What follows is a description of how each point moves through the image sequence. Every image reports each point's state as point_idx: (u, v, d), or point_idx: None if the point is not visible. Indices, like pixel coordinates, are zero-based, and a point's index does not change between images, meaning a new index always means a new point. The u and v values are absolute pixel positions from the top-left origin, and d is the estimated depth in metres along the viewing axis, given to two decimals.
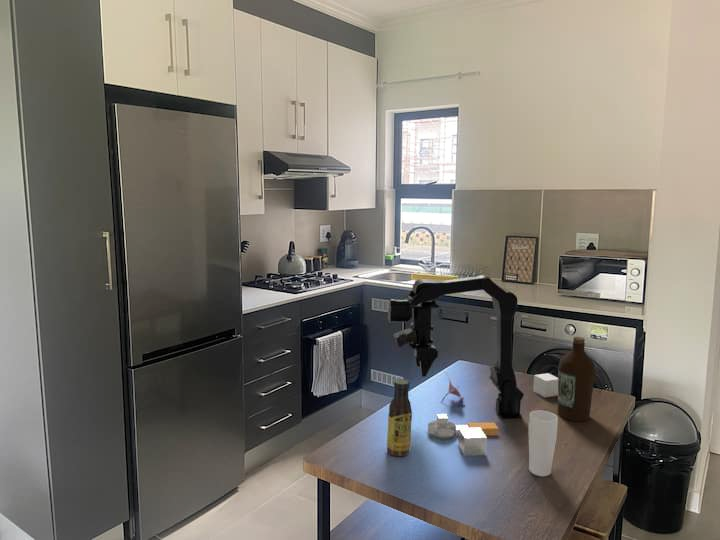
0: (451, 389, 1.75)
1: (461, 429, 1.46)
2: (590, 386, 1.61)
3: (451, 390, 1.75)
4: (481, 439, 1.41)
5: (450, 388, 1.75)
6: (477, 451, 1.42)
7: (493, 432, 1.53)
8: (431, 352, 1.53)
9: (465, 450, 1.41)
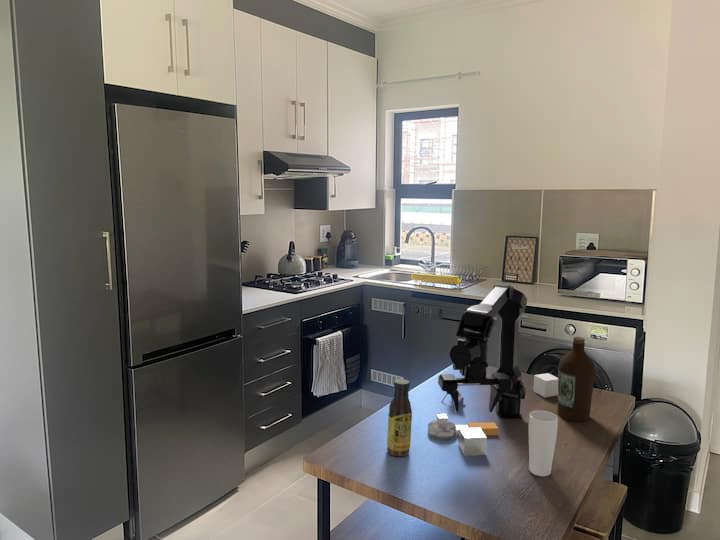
0: None
1: (461, 429, 1.46)
2: (590, 386, 1.61)
3: None
4: (481, 439, 1.41)
5: None
6: (477, 451, 1.42)
7: (493, 432, 1.53)
8: (441, 382, 1.40)
9: (465, 450, 1.41)
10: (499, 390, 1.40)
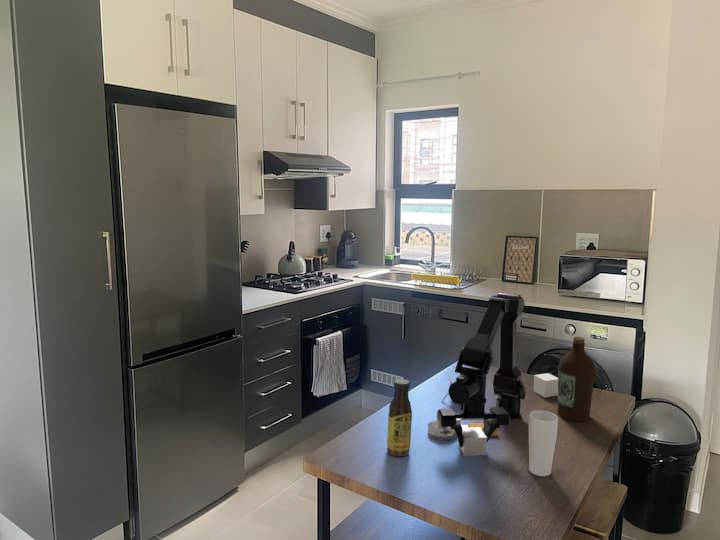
0: None
1: None
2: (590, 386, 1.61)
3: None
4: (481, 439, 1.41)
5: None
6: (477, 451, 1.42)
7: None
8: (440, 417, 1.41)
9: (465, 450, 1.41)
10: (492, 425, 1.42)
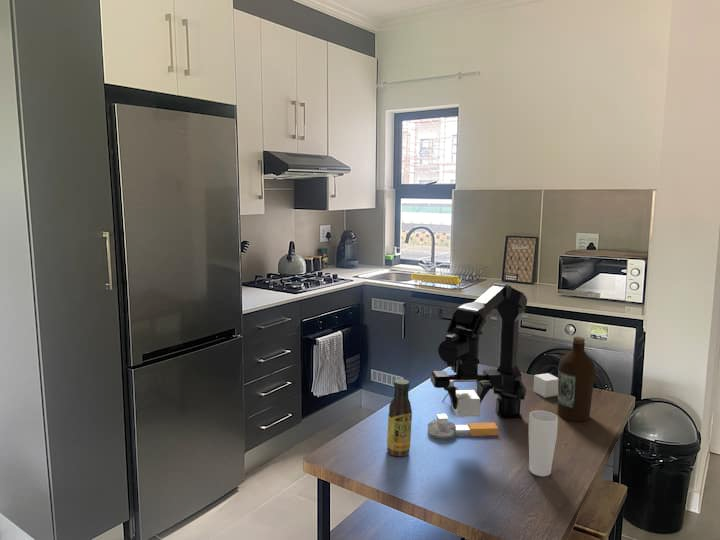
0: None
1: None
2: (590, 386, 1.61)
3: None
4: (474, 400, 1.42)
5: None
6: (471, 412, 1.43)
7: (493, 432, 1.53)
8: (433, 379, 1.42)
9: (459, 411, 1.42)
10: (485, 386, 1.43)
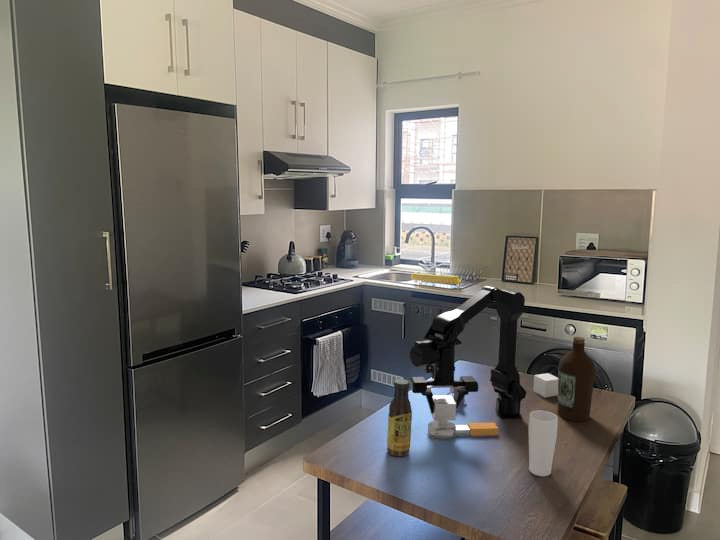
0: (452, 389, 1.75)
1: (433, 397, 1.54)
2: (590, 386, 1.61)
3: (452, 390, 1.75)
4: (451, 405, 1.50)
5: (451, 388, 1.75)
6: (447, 416, 1.50)
7: (493, 432, 1.53)
8: (412, 385, 1.50)
9: (436, 415, 1.50)
10: (461, 392, 1.50)
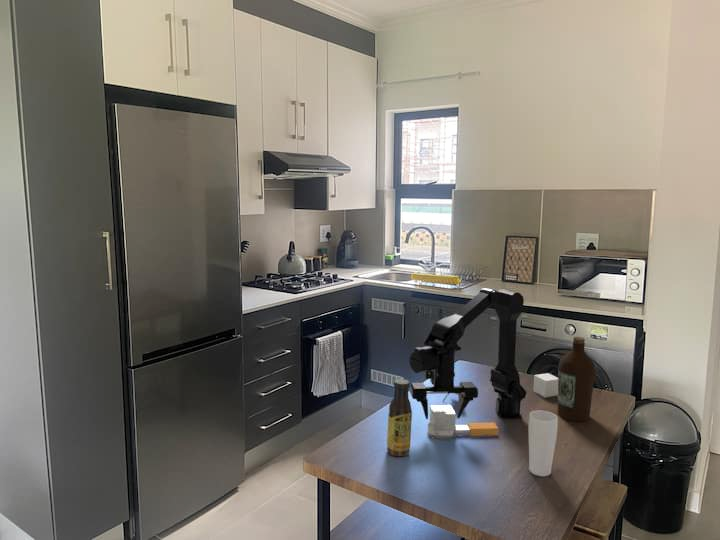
0: None
1: (432, 406, 1.55)
2: (590, 386, 1.61)
3: None
4: (450, 415, 1.50)
5: None
6: (447, 426, 1.51)
7: (493, 432, 1.53)
8: (411, 391, 1.50)
9: (435, 425, 1.50)
10: (466, 398, 1.51)
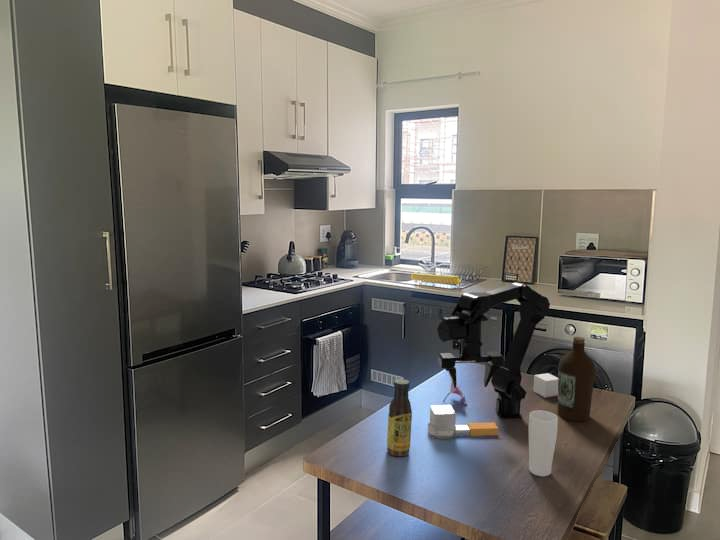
0: (453, 388, 1.75)
1: (432, 406, 1.55)
2: (590, 386, 1.61)
3: (453, 389, 1.75)
4: (450, 415, 1.50)
5: (452, 387, 1.75)
6: (447, 426, 1.51)
7: (493, 432, 1.53)
8: (440, 360, 1.55)
9: (435, 425, 1.50)
10: (493, 366, 1.56)
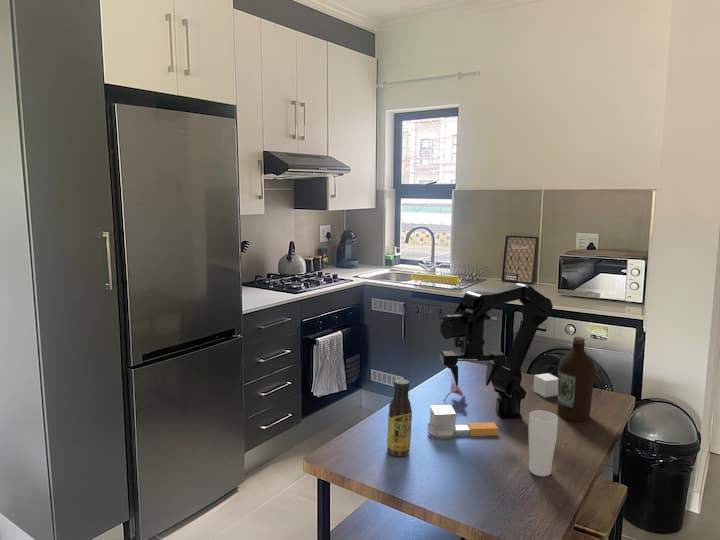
0: (453, 388, 1.75)
1: (432, 406, 1.55)
2: (590, 386, 1.61)
3: (453, 389, 1.75)
4: (450, 415, 1.50)
5: (452, 387, 1.76)
6: (447, 426, 1.51)
7: (493, 432, 1.53)
8: (442, 358, 1.56)
9: (435, 426, 1.50)
10: (495, 365, 1.56)
